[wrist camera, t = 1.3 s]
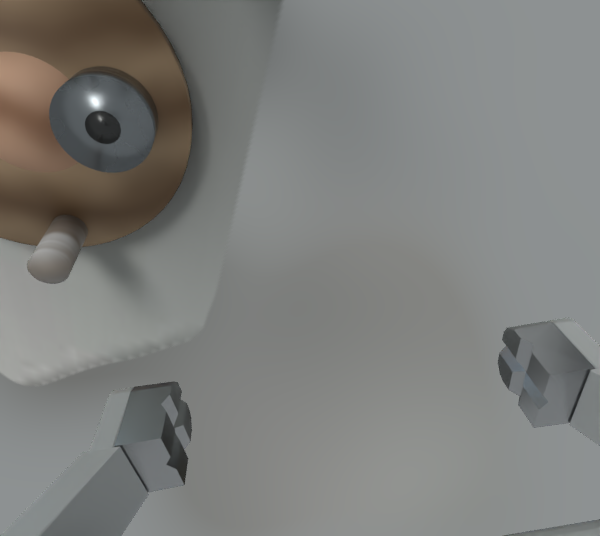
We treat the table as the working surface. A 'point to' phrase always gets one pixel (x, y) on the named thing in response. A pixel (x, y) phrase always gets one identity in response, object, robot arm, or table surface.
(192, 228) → the table surface
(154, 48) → the turntable
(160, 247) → the table surface
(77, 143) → the pot lid
